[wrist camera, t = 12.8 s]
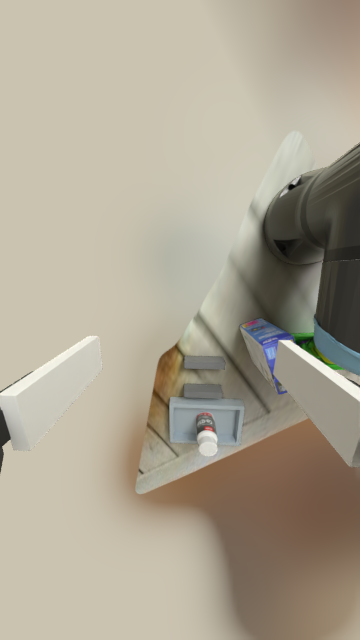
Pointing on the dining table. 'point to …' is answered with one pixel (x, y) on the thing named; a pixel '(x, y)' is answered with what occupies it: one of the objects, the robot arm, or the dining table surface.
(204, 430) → the pill bottle
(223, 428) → the parts tray
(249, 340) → the ink cartridge box
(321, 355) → the fruit basket
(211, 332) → the dining table surface
